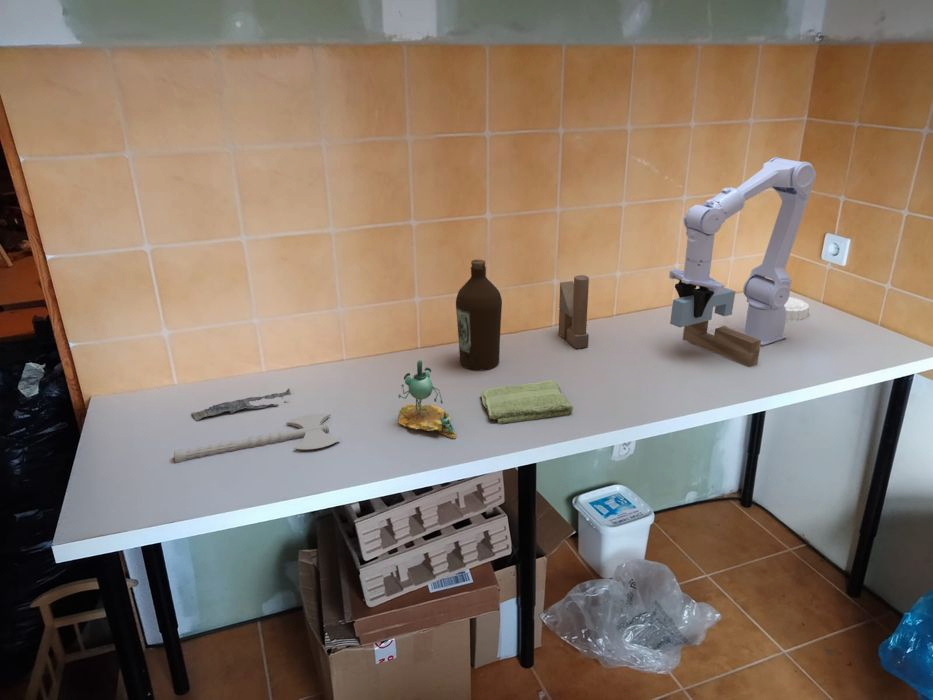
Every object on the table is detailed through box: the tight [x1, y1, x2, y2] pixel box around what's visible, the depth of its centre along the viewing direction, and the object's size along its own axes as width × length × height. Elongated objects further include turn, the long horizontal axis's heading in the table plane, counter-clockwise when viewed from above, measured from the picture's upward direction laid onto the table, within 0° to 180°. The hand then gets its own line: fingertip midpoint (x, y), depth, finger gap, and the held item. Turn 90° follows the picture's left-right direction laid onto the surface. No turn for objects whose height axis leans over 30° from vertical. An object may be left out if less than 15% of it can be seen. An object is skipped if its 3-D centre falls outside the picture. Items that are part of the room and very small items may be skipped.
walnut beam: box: [682, 320, 761, 368], centre depth 171 cm, size 3×20×6 cm, turn 32°
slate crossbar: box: [669, 287, 736, 328], centre depth 168 cm, size 18×3×6 cm, turn 122°
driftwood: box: [191, 388, 292, 422], centre depth 150 cm, size 21×7×2 cm, turn 111°
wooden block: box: [558, 274, 590, 350], centre depth 176 cm, size 4×11×18 cm, turn 17°
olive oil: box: [455, 259, 503, 371], centre depth 163 cm, size 11×11×25 cm
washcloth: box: [480, 379, 574, 425], centre depth 147 cm, size 13×18×3 cm
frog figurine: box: [397, 359, 457, 439], centre depth 140 cm, size 10×18×15 cm, turn 29°
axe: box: [173, 413, 342, 464], centre depth 135 cm, size 30×14×2 cm, turn 111°
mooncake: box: [784, 296, 810, 321], centre depth 195 cm, size 12×12×4 cm
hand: (692, 314), depth 167 cm, fingers closed on slate crossbar, 3 cm apart
